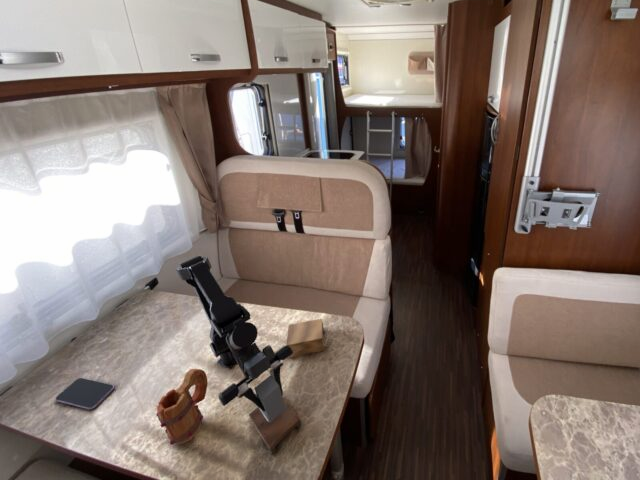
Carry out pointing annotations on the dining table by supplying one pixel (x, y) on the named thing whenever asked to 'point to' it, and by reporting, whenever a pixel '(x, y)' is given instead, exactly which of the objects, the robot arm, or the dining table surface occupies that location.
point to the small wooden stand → (275, 425)
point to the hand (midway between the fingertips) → (273, 403)
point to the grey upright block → (270, 398)
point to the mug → (183, 408)
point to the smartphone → (85, 393)
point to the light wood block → (305, 337)
